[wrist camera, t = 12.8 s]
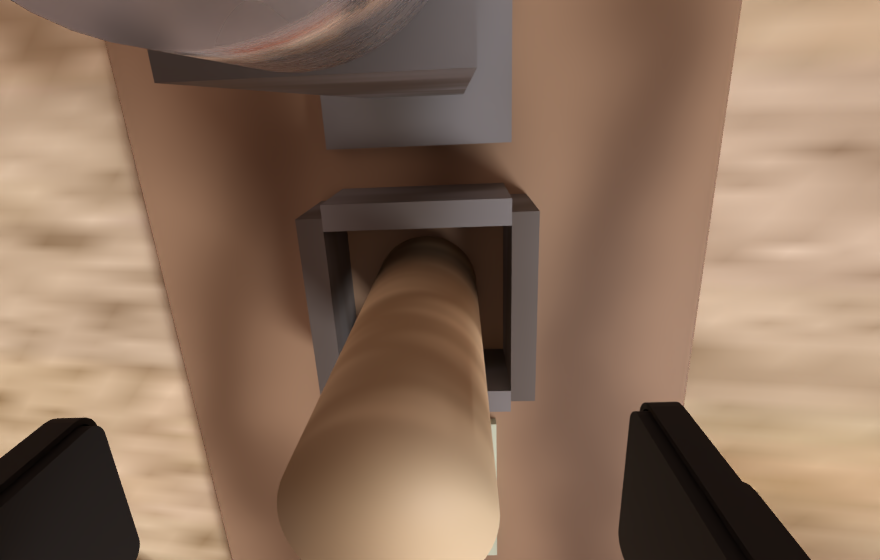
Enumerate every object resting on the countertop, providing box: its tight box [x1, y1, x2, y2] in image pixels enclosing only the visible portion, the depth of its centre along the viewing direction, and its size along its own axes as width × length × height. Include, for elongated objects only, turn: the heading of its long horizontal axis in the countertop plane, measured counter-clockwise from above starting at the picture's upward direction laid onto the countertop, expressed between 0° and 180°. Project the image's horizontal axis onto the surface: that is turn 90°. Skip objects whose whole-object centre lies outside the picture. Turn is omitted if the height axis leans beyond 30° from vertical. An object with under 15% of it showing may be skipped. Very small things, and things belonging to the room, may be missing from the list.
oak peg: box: [277, 236, 500, 560], centre depth 13 cm, size 4×4×11 cm
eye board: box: [105, 0, 742, 560], centre depth 14 cm, size 20×28×14 cm
